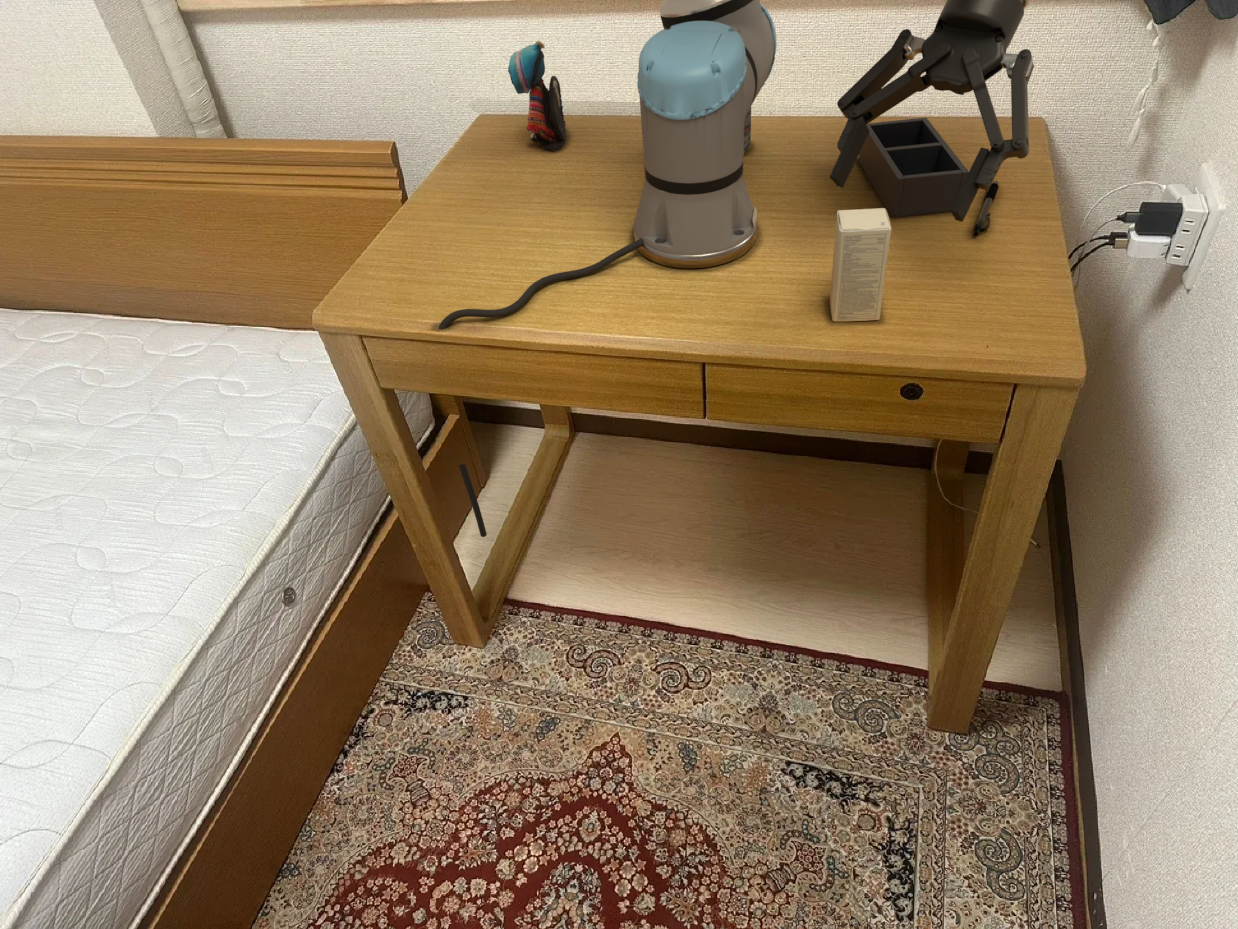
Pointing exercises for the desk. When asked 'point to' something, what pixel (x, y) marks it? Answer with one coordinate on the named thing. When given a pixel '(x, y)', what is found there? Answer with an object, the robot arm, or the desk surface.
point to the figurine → (539, 97)
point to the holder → (912, 167)
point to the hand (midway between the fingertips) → (893, 199)
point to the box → (859, 264)
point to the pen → (986, 209)
